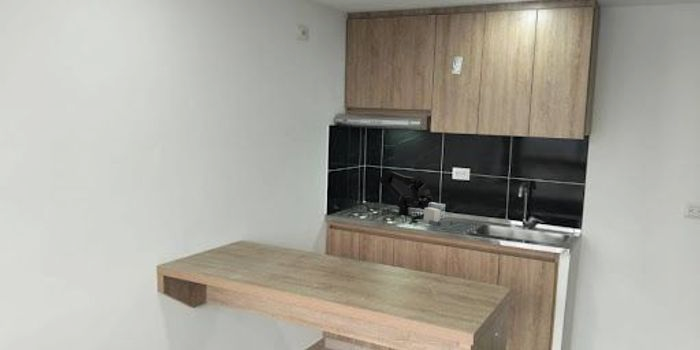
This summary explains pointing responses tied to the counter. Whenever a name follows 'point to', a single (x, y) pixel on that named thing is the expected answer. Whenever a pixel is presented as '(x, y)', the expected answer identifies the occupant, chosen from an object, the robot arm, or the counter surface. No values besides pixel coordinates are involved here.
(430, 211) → the white rectangular block
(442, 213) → the light bulb box
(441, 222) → the socket board
